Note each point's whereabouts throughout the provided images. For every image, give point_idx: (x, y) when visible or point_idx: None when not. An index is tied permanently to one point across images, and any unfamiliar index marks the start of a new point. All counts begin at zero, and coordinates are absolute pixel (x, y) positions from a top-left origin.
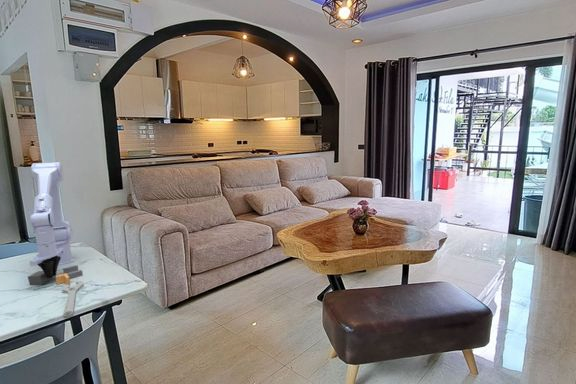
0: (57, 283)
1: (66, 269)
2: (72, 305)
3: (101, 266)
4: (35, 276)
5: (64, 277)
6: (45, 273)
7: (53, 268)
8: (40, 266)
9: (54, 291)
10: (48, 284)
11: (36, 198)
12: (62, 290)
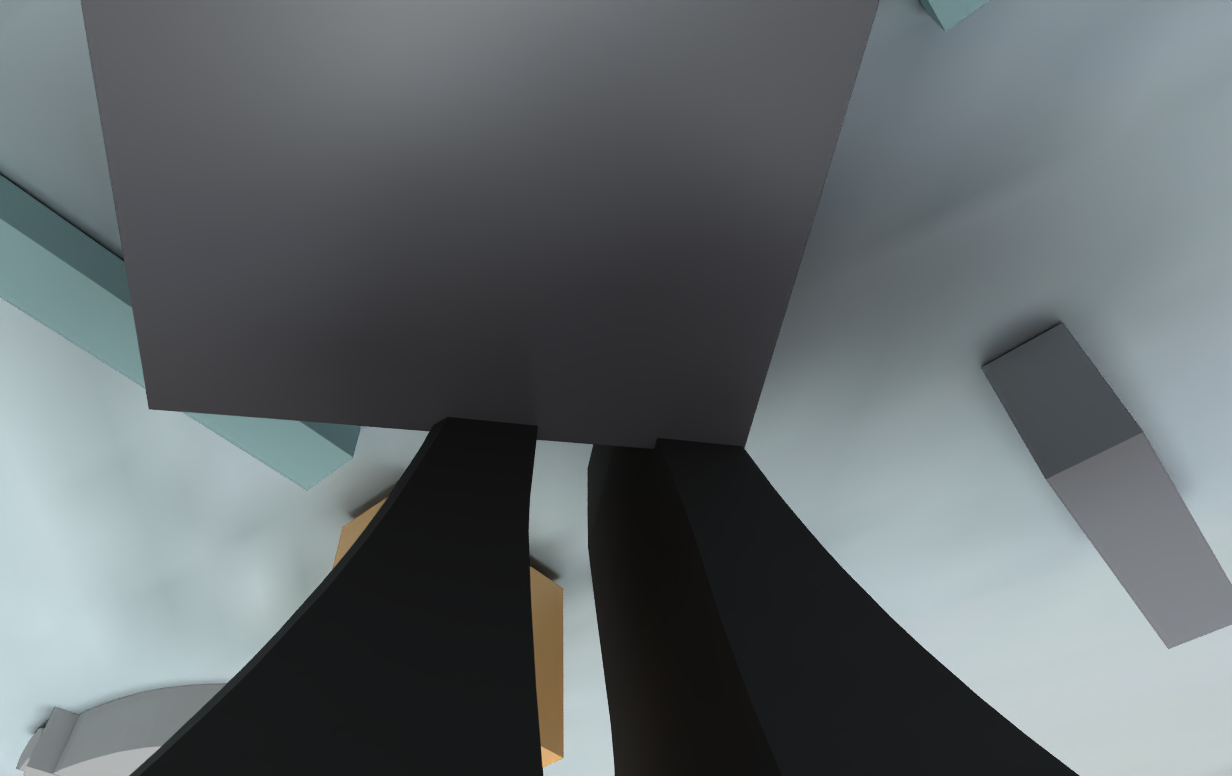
0: (342, 549)
1: (1061, 500)
2: None
3: (1124, 749)
4: (116, 191)
5: None
6: (447, 433)
7: (631, 683)
8: (200, 753)
9: (63, 595)
10: None
11: None
12: (27, 770)
